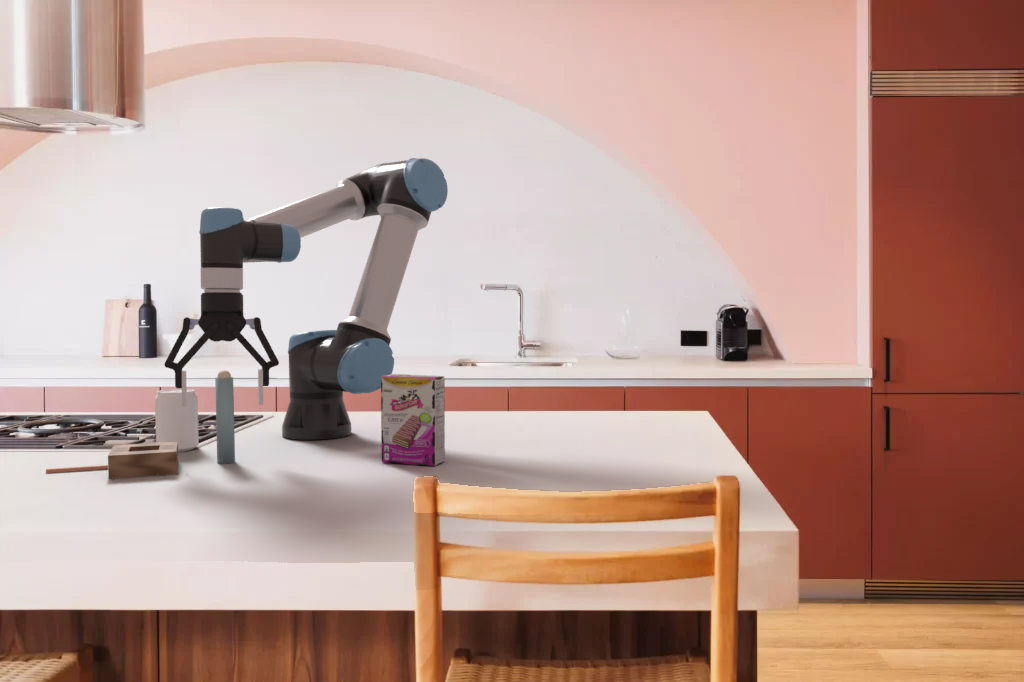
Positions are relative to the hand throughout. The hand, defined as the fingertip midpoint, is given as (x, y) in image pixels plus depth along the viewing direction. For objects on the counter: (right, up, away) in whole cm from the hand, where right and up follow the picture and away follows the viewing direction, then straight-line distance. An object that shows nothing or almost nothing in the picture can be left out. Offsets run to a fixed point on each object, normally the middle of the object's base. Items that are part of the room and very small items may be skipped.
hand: (223, 405), depth 166 cm
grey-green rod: (0, -11, +1) cm, 11 cm away
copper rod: (-24, -11, -7) cm, 27 cm away
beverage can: (-14, -10, +15) cm, 23 cm away
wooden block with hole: (-12, -11, -7) cm, 18 cm away
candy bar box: (+36, -11, 0) cm, 37 cm away
